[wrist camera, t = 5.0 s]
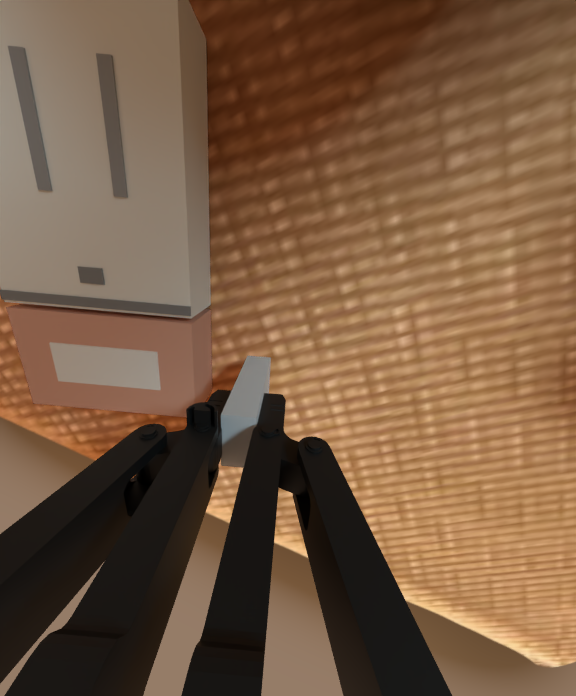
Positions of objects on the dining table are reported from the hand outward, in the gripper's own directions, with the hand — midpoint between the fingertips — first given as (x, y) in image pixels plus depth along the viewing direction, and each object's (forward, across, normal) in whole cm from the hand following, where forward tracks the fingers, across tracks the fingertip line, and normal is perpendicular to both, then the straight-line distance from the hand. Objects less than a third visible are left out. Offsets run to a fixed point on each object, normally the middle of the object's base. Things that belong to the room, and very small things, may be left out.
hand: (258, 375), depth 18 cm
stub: (+2, -8, +1) cm, 9 cm away
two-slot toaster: (+2, -8, +11) cm, 14 cm away
